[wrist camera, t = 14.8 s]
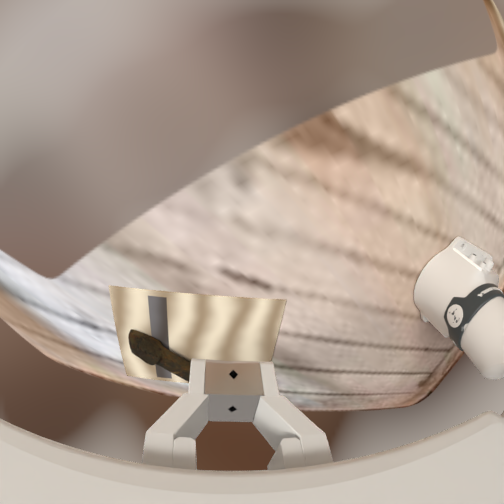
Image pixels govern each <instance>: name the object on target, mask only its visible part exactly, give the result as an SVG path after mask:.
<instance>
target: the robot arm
mask: <svg viewBox="0 0 504 504" xmlns="http://www.w3.org/2000/svg"><path fill="white" fill-rule="evenodd" d="M493 265H494V262H492V256H491V255H490V254H489V253H487V252H485V251H484V250H482V249H480V248H479V247H477V246H475V245H474V244H472V243H470V242H469V241H467V240H465V239H463V238H462V237H460V236H459V237H456V238H455V239H454V240H453V241H452V243H451V244H450V245H449V246H448V247H447V248H446V249H444V250H443V251H441V252H439V253H438V254H437V255H435V256H434V257H433V258H432V259H431V260H430V261H429V262H428V264H427V265H426V266H425V267H424V269H423V270H422V272H421V274H420V276H419V278H418V280H417V282H416V285H415V289H414V302H415V304H416V306H417V307H418V309H419V310H420V312H421V319H422V320H423V321H424V322H430V323H431V324H432V325H433V326H434V327H435V328H436V329H437V330H438V331H439V332H440V333H441V334H442V335H443V336H444V337H446V338H447V337H450V338H451V339H452V341H453V343H454V344H455V345H456V346H457V347H458V348H459V349H460V350H461V351H464V352H465V353H466V354H467V356H468V357H469V358H470V360H471V361H472V363H473V364H474V365H475V366H476V368H477V369H478V371H479V372H480V374H481V375H482V376H483V377H485V378H487V379H491V380H497V379H501V378H504V295H503V292H502V291H501V290H500V289H499V288H498V283H499V276H498V274H497V273H496V272H495V271H493V270H492V267H493ZM208 421H235V422H253V424H254V425H255V427H256V428H257V429H258V430H259V431H260V433H261V434H262V435H263V437H264V438H265V439H266V440H267V441H268V443H269V444H270V445H271V446H272V448H273V449H274V450H275V451H276V452H275V454H274V455H273V457H272V459H271V461H270V463H269V465H268V470H259V471H209V470H197V462H196V441H195V439H196V438H197V436H198V435H199V433H200V432H201V431H202V429H203V428H204V427H205V425H206V424H207V422H208ZM0 504H504V411H503V413H502V414H501V415H499V414H497V413H495V412H493V411H487V412H484V413H482V414H480V415H478V416H476V417H474V418H472V419H470V420H468V421H466V422H463V423H461V424H459V425H457V426H454V427H452V428H450V429H447V430H445V431H442V432H440V433H437V434H435V435H432V436H429V437H427V438H424V439H421V440H418V441H415V442H412V443H409V444H406V445H403V446H400V447H397V448H393V449H390V450H387V451H382V452H379V453H375V454H371V455H367V456H362V457H358V458H353V459H349V460H344V461H339V462H333V459H332V455H331V452H330V448H329V445H328V441H327V438H326V434H325V433H324V432H322V430H321V429H320V428H318V427H317V426H316V425H315V424H314V423H313V422H312V421H311V420H309V419H308V418H307V417H306V416H305V415H304V414H303V413H302V412H301V411H300V410H299V409H297V408H296V407H295V406H294V405H293V404H292V403H291V402H290V401H289V400H288V399H287V398H286V397H285V396H280V394H279V389H278V384H277V379H276V374H275V369H274V364H273V362H257V361H221V360H209V359H206V364H205V359H196V358H192V360H191V367H190V379H189V391H188V393H184V394H183V395H182V396H181V397H180V398H179V399H178V400H177V401H176V402H175V403H174V404H173V405H172V406H171V407H170V408H169V409H168V410H167V411H166V412H165V413H164V414H163V415H162V416H161V417H160V418H159V420H157V421H156V422H155V423H154V424H153V425H152V426H151V427H150V428H149V429H148V430H147V431H146V437H145V444H144V450H143V458H142V463H136V462H130V461H125V460H120V459H115V458H111V457H107V456H102V455H98V454H94V453H91V452H87V451H83V450H79V449H76V448H73V447H70V446H67V445H64V444H60V443H58V442H55V441H52V440H49V439H46V438H44V437H41V436H38V435H36V434H33V433H31V432H28V431H26V430H24V429H21V428H19V427H17V426H15V425H12V424H10V423H8V422H6V421H4V420H2V419H0Z"/></svg>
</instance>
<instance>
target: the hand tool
mask: <svg viewBox="0 0 504 504" xmlns="http://www.w3.org/2000/svg"><path fill="white" fill-rule="evenodd" d="M128 339H129V345H130V349H131V352H132V353H133V354H134V355H135V356H137V357H139V358H140V359H141V360H143V361H144V362H145V363H147V364H149V365H155V364H156V365H159V366H161V367H163V368H164V369H166V370H168V371H169V372H171V373H173V374H175V375H177V376H179V377H180V378H182V379H184V380H186V381H188V382H189V379H190V367H191V362H190V361H187V360H185V359H183V358H182V357H180V356H178V355H176V354H175V353H173V352H171V351H170V350H168V349H166V348H165V347H164V346H163V345H162V343H161V342H160V341H159V340H158V339H156V338H154V337H151V336H149V335H146V334H144V333H141V332H139V331H136V330H133V329H131V330H130V332H129V336H128Z"/></svg>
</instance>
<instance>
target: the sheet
mask: <svg viewBox="0 0 504 504" xmlns="http://www.w3.org/2000/svg"><path fill="white" fill-rule="evenodd" d="M109 291H110V298H111V304H112V310H113V315H114V321H115V326H116V331H117V336H118V341H119V345H120V350H121V354H122V358H123V362H124V366H125V370H126V374H127V376H132V377H139V378H146V379H154V380H162V381H172V382H182V383H189V382H188V381H186V380H184V379H182V378H180V377H179V376H177V375H175V374H173V373H171V372H169V371H168V370H166V369H164V368H163V367H161V366H159V365H156V364H155V365H149V364H147V363H145V362H144V361H143V360H141V359H140V358H139V357H137V356H135V355H134V354H133V353H132V352H131V349H130V345H129V339H128V336H129V332H130V330H131V329H133V330H136V331H139V332H141V333H144V334H146V335H149V336H151V337H154V338H156V339H158V340H159V341H160V342H161V343H162V345H163V346H164V347H165V348H166V349H168V350H170V351H171V352H173V353H175V354H176V355H178V356H180V357H182V358H183V359H185V360H187V361H190V362H191V360H192V358H196V359H205V364H206V359H209V360H221V361H257V362H271V359H272V356H273V352H274V348H275V344H276V340H277V336H278V332H279V328H280V325H281V321H282V316H283V312H284V308H285V304H286V300H281V299H261V298H244V297H229V296H215V295H201V294H189V293H178V292H167V291H156V290H146V289H137V288H127V287H119V286H110V285H109Z"/></svg>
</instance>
